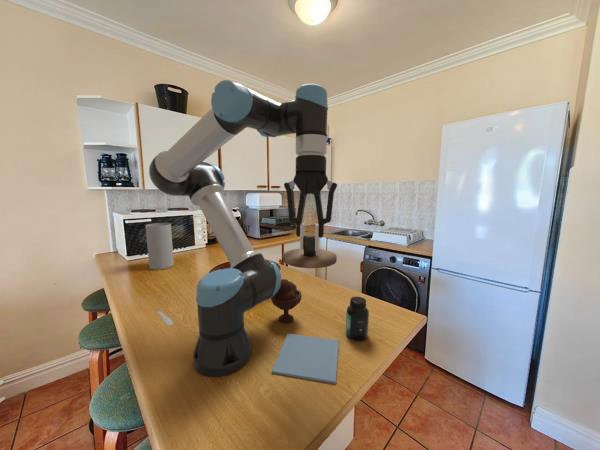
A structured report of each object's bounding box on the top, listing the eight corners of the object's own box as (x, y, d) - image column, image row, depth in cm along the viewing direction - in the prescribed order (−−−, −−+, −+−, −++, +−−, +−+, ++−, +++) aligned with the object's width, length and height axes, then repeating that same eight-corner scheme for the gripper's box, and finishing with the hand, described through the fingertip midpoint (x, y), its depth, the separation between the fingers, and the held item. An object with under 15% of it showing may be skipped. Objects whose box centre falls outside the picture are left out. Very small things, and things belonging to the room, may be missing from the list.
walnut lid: (276, 265, 57) (275, 240, 56) (289, 251, 71) (289, 230, 70) (335, 270, 54) (336, 243, 53) (337, 254, 68) (338, 232, 67)
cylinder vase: (154, 263, 145) (151, 223, 141) (176, 262, 147) (173, 222, 143) (145, 270, 133) (141, 226, 129) (169, 269, 135) (166, 226, 131)
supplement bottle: (346, 340, 73) (347, 304, 71) (345, 328, 80) (346, 294, 78) (369, 343, 72) (371, 305, 70) (366, 329, 79) (367, 295, 77)
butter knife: (165, 327, 79) (174, 323, 81) (143, 301, 98) (151, 298, 100) (165, 328, 79) (174, 324, 81) (143, 302, 98) (151, 299, 100)
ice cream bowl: (298, 329, 79) (298, 286, 76) (266, 325, 81) (265, 283, 79) (304, 313, 89) (304, 274, 87) (275, 310, 91) (275, 272, 89)
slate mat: (271, 372, 60) (271, 370, 60) (287, 335, 76) (287, 333, 76) (335, 384, 57) (335, 381, 57) (338, 342, 72) (338, 340, 72)
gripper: (344, 157, 61) (341, 247, 64) (283, 158, 64) (283, 244, 67) (344, 153, 53) (340, 254, 57) (274, 154, 56) (275, 250, 60)
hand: (309, 248), depth 62 cm, fingers closed on walnut lid, 3 cm apart
